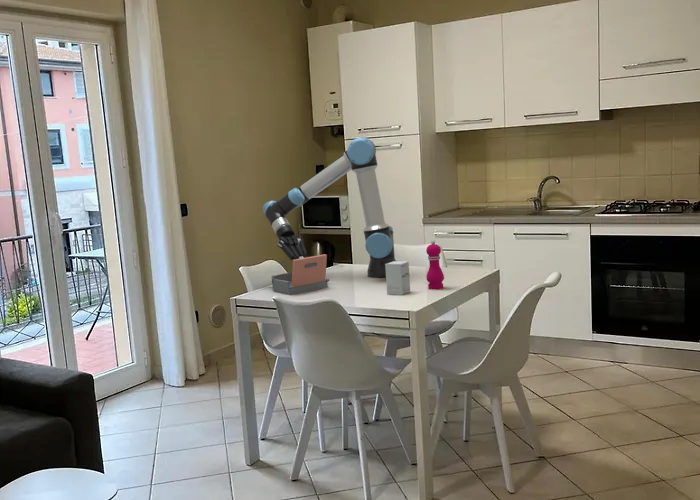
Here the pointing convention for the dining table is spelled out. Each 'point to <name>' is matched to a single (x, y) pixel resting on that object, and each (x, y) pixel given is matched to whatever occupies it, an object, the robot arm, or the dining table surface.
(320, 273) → the panel
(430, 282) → the pepper mill
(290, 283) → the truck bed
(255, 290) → the dining table surface
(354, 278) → the dining table surface
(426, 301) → the dining table surface
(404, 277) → the supplement box
